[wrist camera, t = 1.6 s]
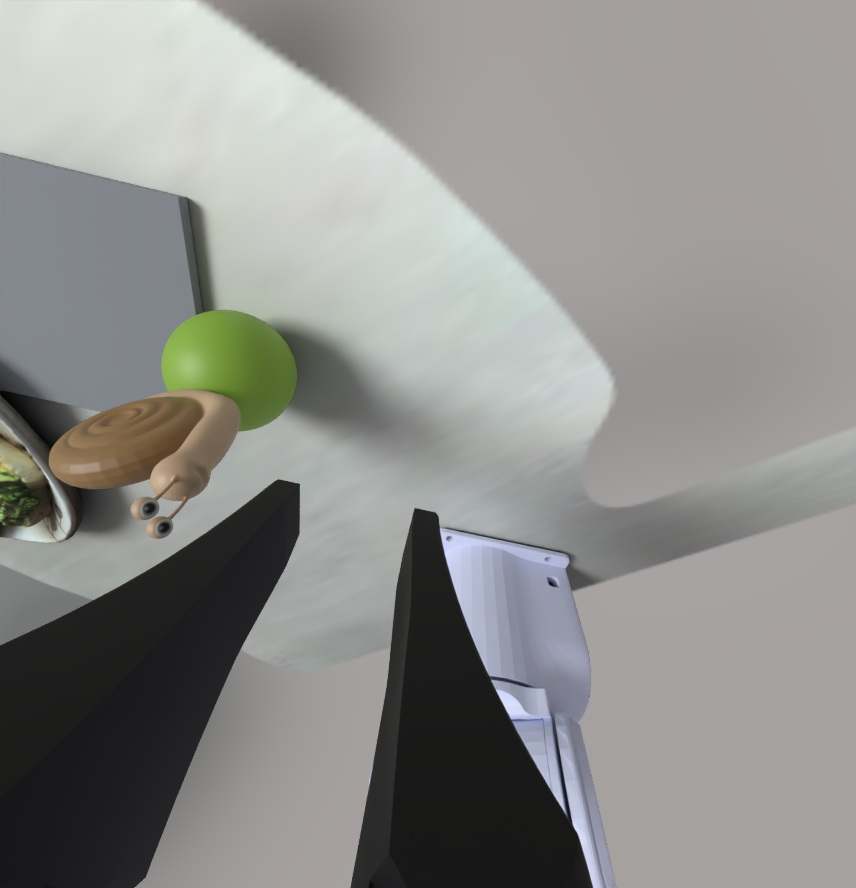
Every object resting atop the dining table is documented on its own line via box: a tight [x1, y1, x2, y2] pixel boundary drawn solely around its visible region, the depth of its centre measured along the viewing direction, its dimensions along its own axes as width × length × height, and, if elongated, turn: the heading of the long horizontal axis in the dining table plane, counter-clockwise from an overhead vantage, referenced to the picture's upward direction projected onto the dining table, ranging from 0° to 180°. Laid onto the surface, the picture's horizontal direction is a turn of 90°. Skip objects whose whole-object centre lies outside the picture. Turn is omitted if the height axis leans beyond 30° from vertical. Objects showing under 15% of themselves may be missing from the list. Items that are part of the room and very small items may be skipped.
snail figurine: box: [49, 310, 297, 539], centre depth 14 cm, size 5×6×12 cm
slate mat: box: [0, 153, 203, 412], centre depth 18 cm, size 15×12×1 cm
